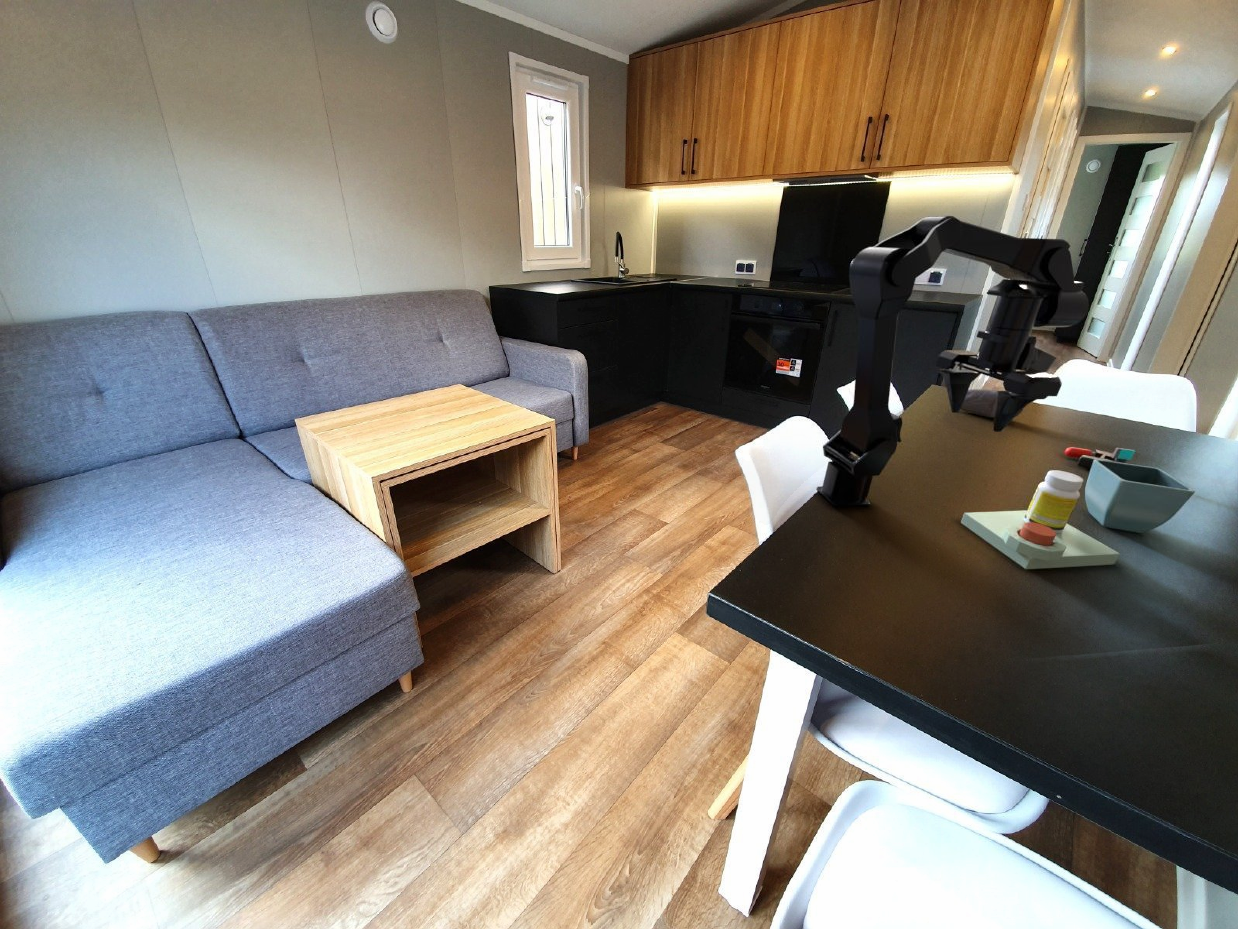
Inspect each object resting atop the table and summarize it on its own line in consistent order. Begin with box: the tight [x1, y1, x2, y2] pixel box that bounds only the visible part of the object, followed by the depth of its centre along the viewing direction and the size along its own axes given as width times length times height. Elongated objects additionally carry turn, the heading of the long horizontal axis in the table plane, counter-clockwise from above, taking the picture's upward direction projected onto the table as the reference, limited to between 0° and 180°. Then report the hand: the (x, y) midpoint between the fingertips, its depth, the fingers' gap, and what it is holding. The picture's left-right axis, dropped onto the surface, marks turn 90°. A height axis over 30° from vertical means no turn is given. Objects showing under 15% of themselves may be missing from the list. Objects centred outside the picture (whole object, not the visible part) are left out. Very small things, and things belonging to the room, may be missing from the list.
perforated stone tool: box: [960, 388, 1024, 419], centre depth 126 cm, size 15×5×7 cm, turn 45°
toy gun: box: [1064, 446, 1136, 470], centre depth 100 cm, size 10×12×5 cm
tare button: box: [1019, 522, 1056, 546], centre depth 68 cm, size 4×4×2 cm
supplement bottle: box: [1024, 469, 1084, 533], centre depth 72 cm, size 5×5×8 cm
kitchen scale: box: [960, 509, 1121, 570], centre depth 72 cm, size 15×13×4 cm
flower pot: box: [1084, 459, 1196, 534], centre depth 77 cm, size 9×9×9 cm
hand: (974, 421), depth 83 cm, fingers open, 9 cm apart
